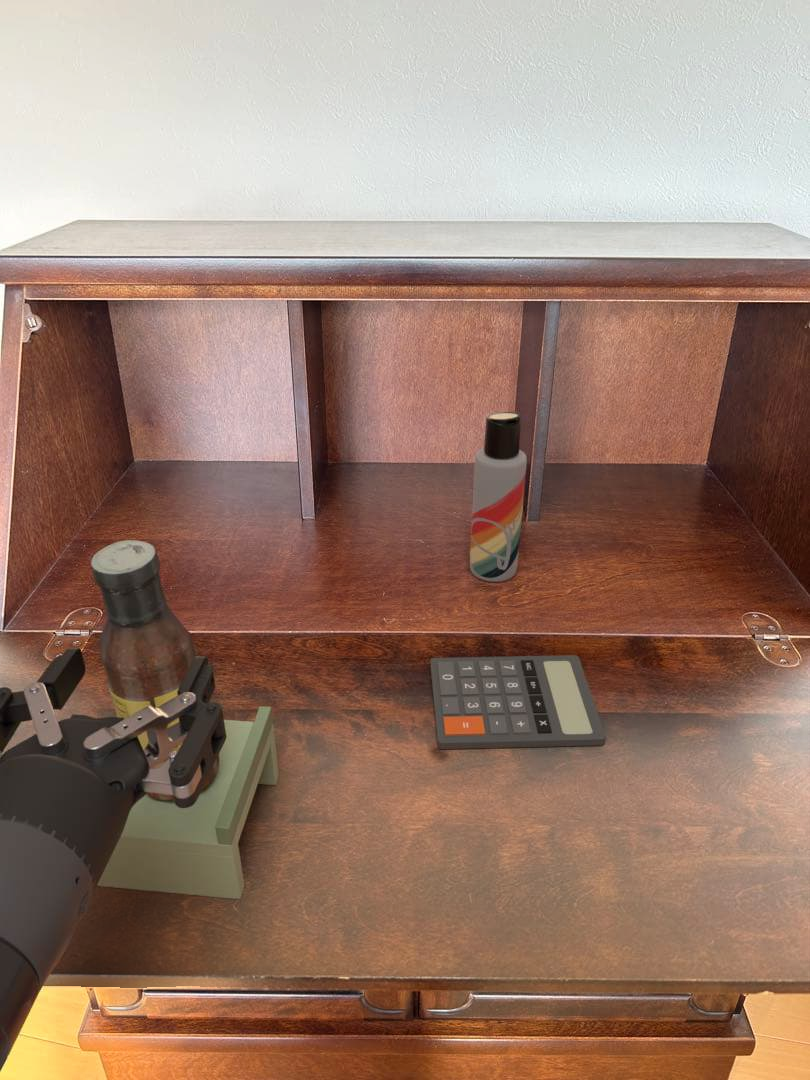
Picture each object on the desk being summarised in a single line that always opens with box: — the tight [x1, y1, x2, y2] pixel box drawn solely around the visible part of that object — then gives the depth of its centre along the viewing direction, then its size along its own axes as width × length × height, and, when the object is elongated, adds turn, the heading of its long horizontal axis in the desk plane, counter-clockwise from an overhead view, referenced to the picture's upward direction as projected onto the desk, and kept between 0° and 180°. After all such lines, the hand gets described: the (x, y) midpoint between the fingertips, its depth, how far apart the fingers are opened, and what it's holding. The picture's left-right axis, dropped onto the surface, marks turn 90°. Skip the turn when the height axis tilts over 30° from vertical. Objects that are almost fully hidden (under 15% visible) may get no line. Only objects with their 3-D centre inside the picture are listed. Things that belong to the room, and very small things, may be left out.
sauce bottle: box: [90, 539, 219, 801], centre depth 56 cm, size 6×6×20 cm
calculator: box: [429, 654, 607, 750], centre depth 76 cm, size 12×1×15 cm
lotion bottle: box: [469, 411, 528, 583], centre depth 91 cm, size 6×6×20 cm
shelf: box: [97, 706, 280, 900], centre depth 62 cm, size 12×12×8 cm
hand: (140, 662), depth 53 cm, fingers open, 8 cm apart
